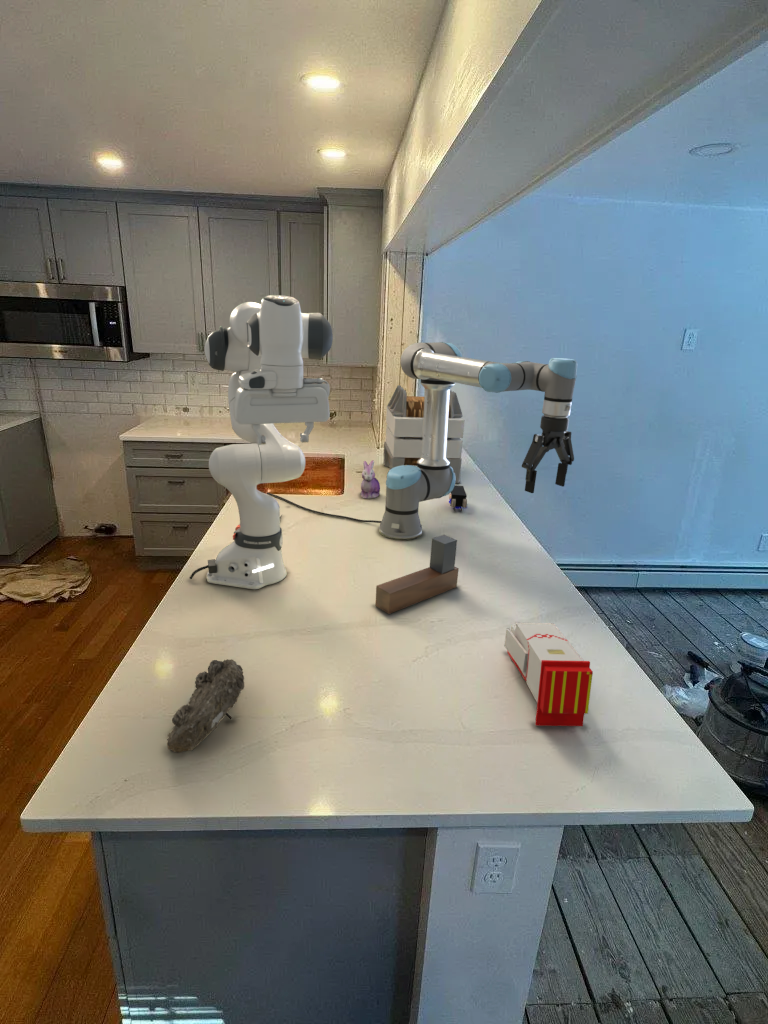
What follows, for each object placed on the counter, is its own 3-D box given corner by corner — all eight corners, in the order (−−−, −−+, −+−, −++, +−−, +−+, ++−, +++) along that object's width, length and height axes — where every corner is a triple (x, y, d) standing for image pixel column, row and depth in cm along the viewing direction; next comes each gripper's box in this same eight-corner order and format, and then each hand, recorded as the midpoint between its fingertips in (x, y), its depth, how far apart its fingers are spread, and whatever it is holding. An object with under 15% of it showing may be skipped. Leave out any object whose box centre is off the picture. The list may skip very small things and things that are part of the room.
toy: (550, 607, 134) (601, 667, 105) (545, 659, 137) (594, 732, 108) (499, 606, 134) (537, 666, 104) (495, 659, 137) (530, 731, 107)
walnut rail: (375, 605, 151) (376, 585, 149) (443, 580, 167) (444, 561, 165) (388, 614, 147) (390, 593, 145) (456, 587, 163) (458, 568, 161)
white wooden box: (382, 463, 289) (386, 382, 275) (445, 464, 293) (451, 384, 279) (390, 482, 257) (394, 392, 243) (460, 483, 261) (468, 394, 247)
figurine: (365, 500, 232) (366, 464, 227) (354, 493, 241) (355, 458, 236) (385, 497, 237) (387, 463, 231) (374, 490, 245) (375, 457, 240)
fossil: (192, 660, 117) (244, 628, 112) (224, 691, 120) (276, 661, 115) (142, 746, 98) (202, 712, 93) (182, 779, 101) (242, 748, 96)
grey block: (429, 567, 161) (431, 538, 158) (441, 563, 164) (444, 534, 161) (442, 573, 157) (444, 544, 154) (454, 569, 161) (457, 540, 157)
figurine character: (467, 516, 223) (461, 500, 237) (469, 499, 220) (463, 483, 233) (450, 516, 223) (446, 499, 236) (452, 498, 220) (447, 483, 233)
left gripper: (325, 376, 125) (324, 437, 130) (230, 376, 118) (233, 441, 122) (334, 379, 120) (333, 444, 125) (235, 380, 112) (238, 448, 117)
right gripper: (536, 421, 148) (525, 498, 155) (594, 415, 162) (582, 485, 169) (514, 416, 154) (505, 491, 161) (572, 410, 168) (561, 479, 175)
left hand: (283, 443), depth 123 cm, fingers open, 8 cm apart
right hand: (544, 488), depth 165 cm, fingers open, 13 cm apart
